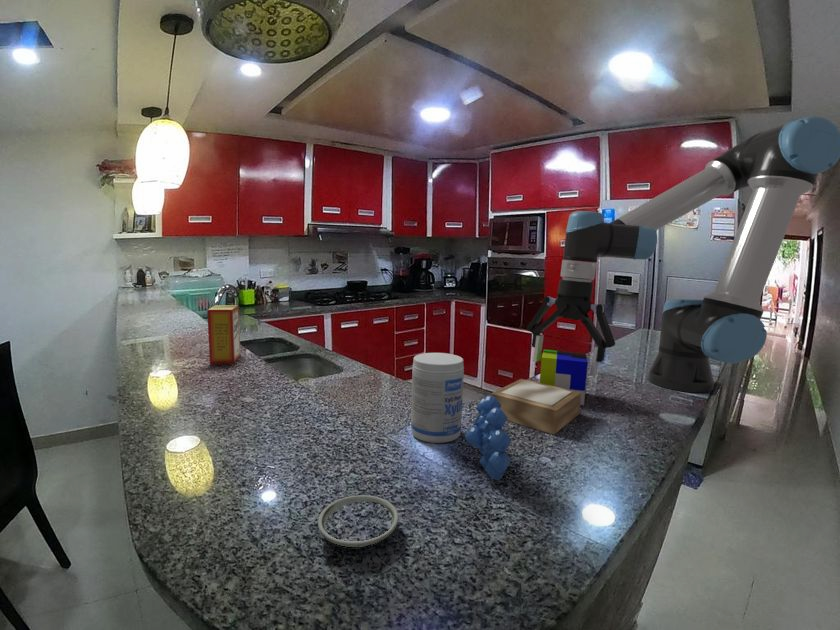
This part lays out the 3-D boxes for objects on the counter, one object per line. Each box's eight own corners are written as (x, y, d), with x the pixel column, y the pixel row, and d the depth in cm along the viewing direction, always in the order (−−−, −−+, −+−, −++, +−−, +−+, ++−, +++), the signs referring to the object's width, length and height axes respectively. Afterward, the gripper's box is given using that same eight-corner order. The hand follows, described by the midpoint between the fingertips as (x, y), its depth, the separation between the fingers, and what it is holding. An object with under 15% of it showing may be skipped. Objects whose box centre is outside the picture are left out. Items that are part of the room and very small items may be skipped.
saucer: (394, 508, 58) (394, 491, 58) (402, 558, 48) (403, 539, 48) (320, 513, 56) (320, 496, 56) (314, 566, 47) (314, 546, 47)
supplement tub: (454, 449, 75) (458, 367, 73) (403, 440, 78) (405, 361, 75) (465, 427, 84) (469, 354, 82) (419, 420, 87) (421, 349, 85)
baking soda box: (234, 362, 125) (231, 308, 122) (209, 363, 123) (207, 308, 121) (240, 354, 134) (238, 304, 131) (217, 355, 132) (215, 304, 130)
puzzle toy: (583, 405, 97) (587, 362, 96) (538, 399, 100) (541, 357, 99) (582, 393, 107) (585, 353, 106) (540, 387, 110) (543, 349, 109)
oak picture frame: (579, 413, 93) (581, 391, 92) (554, 434, 82) (556, 409, 81) (519, 398, 101) (521, 377, 101) (489, 415, 91) (491, 392, 90)
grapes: (454, 454, 73) (457, 386, 71) (493, 453, 74) (497, 386, 72) (472, 493, 61) (476, 413, 60) (517, 491, 62) (522, 412, 61)
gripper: (519, 273, 104) (509, 357, 108) (630, 286, 89) (614, 384, 92) (532, 274, 110) (522, 353, 113) (639, 286, 95) (623, 378, 98)
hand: (563, 368), depth 103 cm, fingers open, 13 cm apart
